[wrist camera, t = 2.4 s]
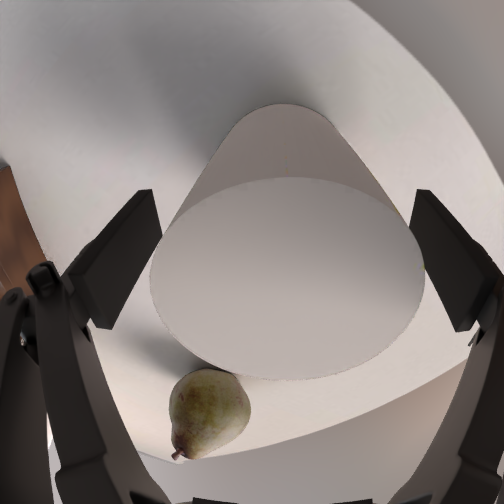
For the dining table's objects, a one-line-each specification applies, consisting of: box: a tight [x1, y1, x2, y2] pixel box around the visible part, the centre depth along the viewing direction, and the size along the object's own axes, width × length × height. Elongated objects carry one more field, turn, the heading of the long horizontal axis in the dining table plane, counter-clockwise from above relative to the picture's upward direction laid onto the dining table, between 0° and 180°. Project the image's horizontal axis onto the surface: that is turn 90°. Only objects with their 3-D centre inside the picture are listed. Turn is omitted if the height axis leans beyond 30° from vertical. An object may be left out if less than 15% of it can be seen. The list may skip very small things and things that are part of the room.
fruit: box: [169, 369, 251, 460], centre depth 29 cm, size 10×9×12 cm
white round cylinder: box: [150, 104, 425, 381], centre depth 13 cm, size 8×8×12 cm
